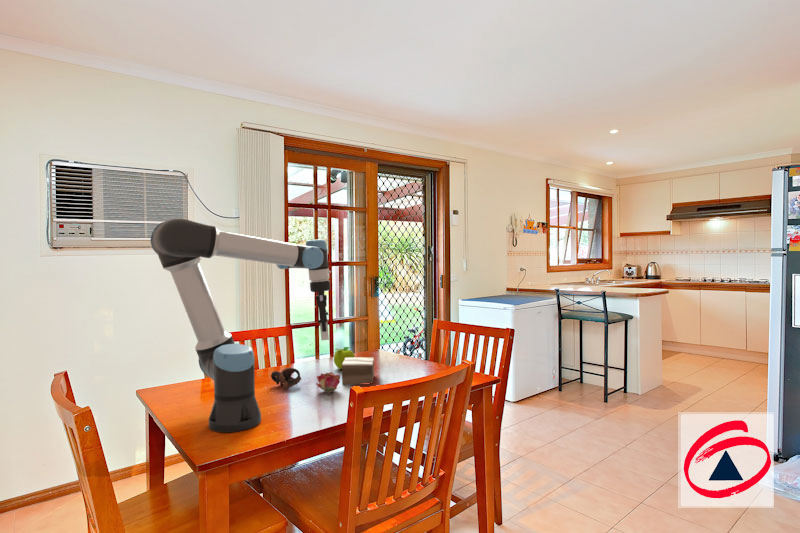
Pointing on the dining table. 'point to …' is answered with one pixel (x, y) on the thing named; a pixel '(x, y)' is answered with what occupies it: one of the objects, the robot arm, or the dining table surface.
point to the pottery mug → (286, 377)
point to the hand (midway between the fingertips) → (325, 335)
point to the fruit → (342, 356)
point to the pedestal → (358, 370)
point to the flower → (328, 382)
